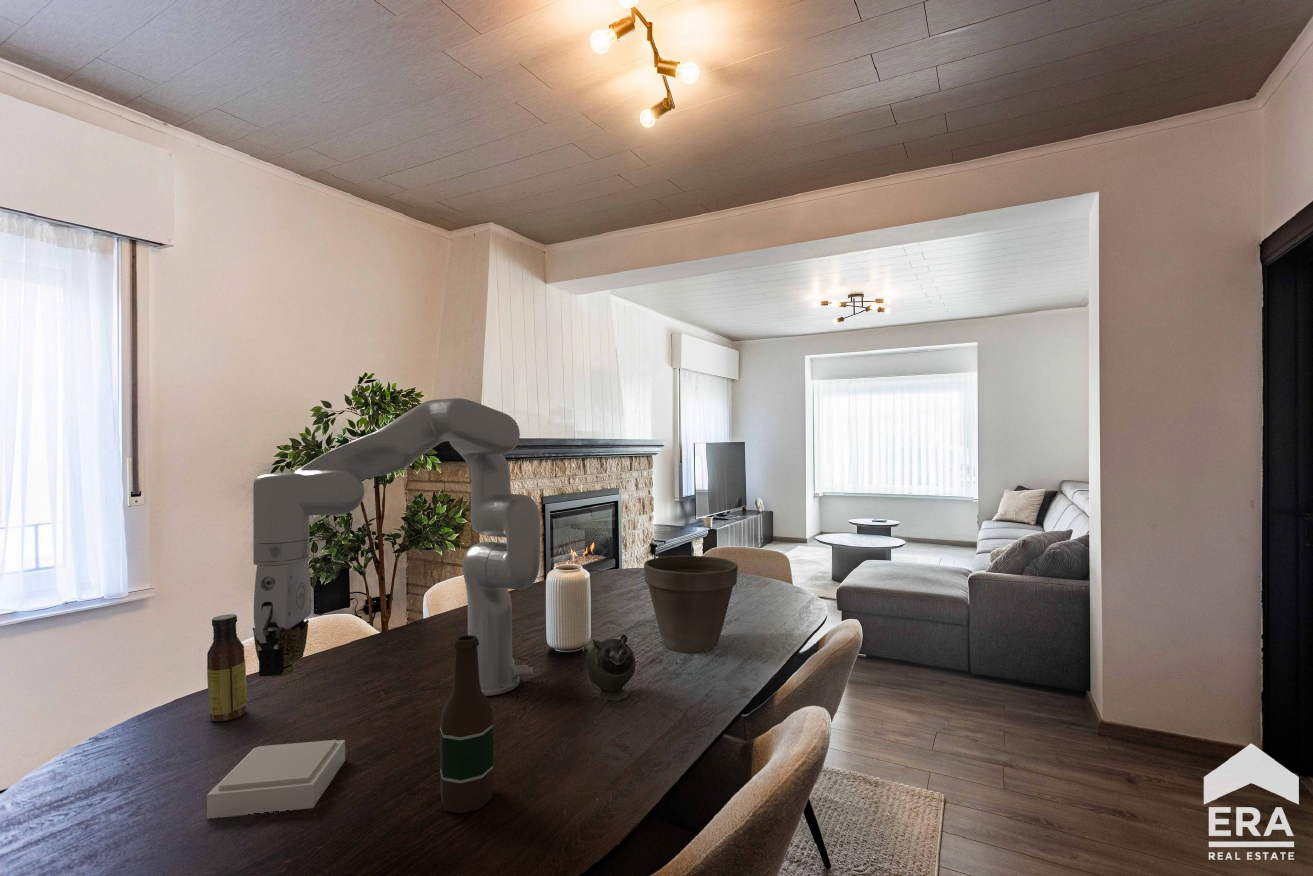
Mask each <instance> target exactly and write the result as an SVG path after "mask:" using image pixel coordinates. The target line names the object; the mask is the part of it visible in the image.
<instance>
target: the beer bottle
mask: <svg viewBox="0 0 1313 876" xmlns="http://www.w3.org/2000/svg"><path fill="white" fill-rule="evenodd" d="M478 645H479V641H478V638H477V637H476V636H471V635H468V634H467V635H461V636H458V637H457V638H454V641H453V644H452V646H453V648H454V649H455V650H454V651H455V652H454V667H453V669H454V670H453V682H452V683H453V684H452V689H451V693H450V694H449V696H448V698H447V700H445V703H444V704H443V707H442V710H441V713H440V720H439V721H440V723H439V768H440V769H439V778H440V779H439V782H440V783H439V786H440V788H439V790H440V801H441V803H442V806H443V809H444V811H446V812H450V813H453V814H454V813H456V814H461V815H462V814H466V813H469V812H473V811H477V810H480V809H482V808H483V807H484V806H486V804H487V803H488V802H490V801H491V799H492V798H493V796H494V718H493V717H494V716H493V711H492V710H493V709H492V708H491V705H490V702H489V700H488V699H487V696H485V695H484V694H483V692H482V691H481V687H480V681H479V667H478V653H477V646H478Z"/></svg>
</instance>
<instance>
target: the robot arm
mask: <svg viewBox="0 0 1313 876" xmlns="http://www.w3.org/2000/svg"><path fill="white" fill-rule="evenodd" d="M520 437H521V431H520V428H519V425H518V423H517V421H516V420H515V419H514V418H513V417H512V416H511V415H509V414H507V413H504V412H503V411H500V410H497V409H494V408H492V407H489V406H487V405H484V404H481V403H478V402H476V401H473V400H470V399H466V398H458V397H455V398H439V399H431V400H426V401H423V402H421V403H419V404H418V405H417V406H415V407H413V408H412V409H410V410H408V411H407V412H405V413H403V414H402V415H400V416H399V417H397V418H395V419H394V420H392V421H391V422H389V423H387V424H386V425H384V426H383V427H380V428H379V429H378V430H375V431H373V432H371V433H369V434H366V435H363V436H361V437H359V438H357V439H354V440H352V441H350V442H348V443H345V444H343V445H340V446H338V447H336V448H334V449H331V450H328V451H327V452H325V453H323V454H320V456H318V457H316V458H314V459H312V460H311V461H310V462H308V463H306V464H304V465H302V466H301V467H300V468H298V469H296V470H295V471H294V472H283V473H282V472H278V473H264V474H260V475H259V476H257V477H255V479H254V481H253V489H252V491H253V492H252V493H253V495H252V502H253V503H252V504H253V505H252V507H253V508H252V509H253V512H252V515H253V516H252V517H253V519H252V521H253V522H252V523H253V524H252V525H253V526H252V528H253V529H252V530H253V534H252V535H253V538H252V542H253V544H252V545H253V546H252V547H253V550H252V551H253V556H252V560H253V563H252V564H253V565H255V566H256V572H255V581H254V590H253V623H254V624H253V625H254V628H255V629H254V633H253V636H254V635H255V637H256V640H257V643H258V651H259V660H258V675H259V676H260V677H270V676H276V675H281V674H282V673H283V672H284V647H281V642H282V632H283V631H284V629H290V628H292V627H293V626H295V625H297V624H299V622H301V621H302V620H304V621H305V619H307V618H308V617H309V616H310V615H311V613H312V611H313V607H312V606H313V605H312V604H313V603H312V585H311V573H310V572H311V571H310V565H309V560H310V517H311V516H343V515H347V514H349V513H351V512H353V511H355V510H356V509H357V508H358V507H360V506H361V503H362V502H363V500H364V498H365V487H364V484H363V482H362V481H364V480H367V479H371V478H374V477H379V476H384V475H389V474H393V473H395V472H398V471H401V470H404V469H405V468H407V467H409V466H410V465H412V464H413V463H414V462H416V461H417V460H418V459H419V458H422V456H424V455H425V454H426V453H428V452H429V451H431V450H432V449H434V448H435V447H437V446H438V445H440V444H441V443H444V442H449V444H450V445H451V447H452V449H454V450H455V451H456V452H457V453H458V454H459V455H460V456H461V458H463V460H464V462H466V465H467V466H468V469H469V473H470V485H471V486H470V487H471V489H470V524H471V528H472V529H473V531H474V532H475V533H477V534H479V535H481V536H486V537H496V538H497V537H498V538H506V542H496V541H483V542H478V543H476V544H473V545H471V546H470V547H469V548H468V549H467V551H466V552H465V553H464V556H463V559H462V565H461V566H462V574H463V580H464V582H465V583H464V584H465V590H466V599H467V635H471V636H476V637H477V638H478V641H479V645H478V646H477V653H478V667H479V681H480V687H481V691H482V692H483V694H484V695H485V697H490V696H496V695H501V694H505V693H507V692H510V691H512V690H514V689H516V688H517V687H518V686H519V685H520V681H521V679H520V677H534V673H533V672H534V668H533V666H529V665H528V664H523V665H518V664H515V663H516V662H515V661H516V660H515V659H514V658H513V603H512V599H511V595H510V592H509V590H508V589H510V590H519V591H520V590H525V589H528V588H530V587H531V586H532V585H534V583H535V582H536V580H537V578H538V575H539V571H540V563H541V562H540V561H541V560H540V559H541V514H540V510H539V507H538V504H537V503H536V501H535V500H534V499H533V498H532V497H530V496H529V495H526V494H522V493H521V494H520V493H512V488H511V470H510V467H509V463H508V462H507V459H506V457H505V454H509V453H510V452H512V451H513V450H514V449H516V447H517V446H518V444H519V443H520ZM272 624H277V625H278V627H270V628H268V627H269V626H270V625H272ZM274 632H276V637H275V639H274V637H273V636H272V634H269V633H274ZM280 647H281V648H280ZM303 657H304V654H303V655H302V657H301V658H300V659H302V658H303Z"/></svg>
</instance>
